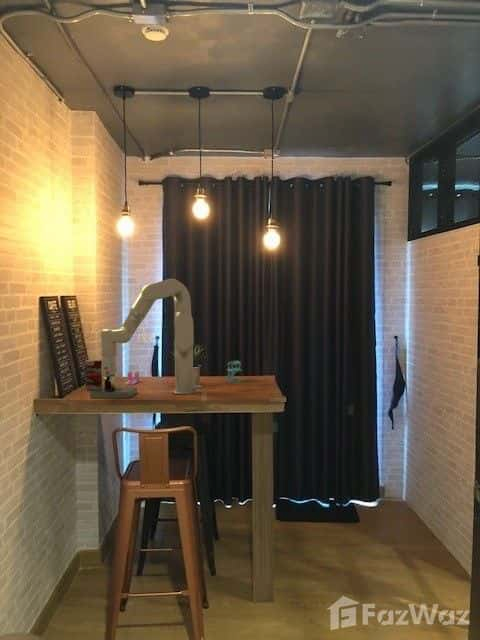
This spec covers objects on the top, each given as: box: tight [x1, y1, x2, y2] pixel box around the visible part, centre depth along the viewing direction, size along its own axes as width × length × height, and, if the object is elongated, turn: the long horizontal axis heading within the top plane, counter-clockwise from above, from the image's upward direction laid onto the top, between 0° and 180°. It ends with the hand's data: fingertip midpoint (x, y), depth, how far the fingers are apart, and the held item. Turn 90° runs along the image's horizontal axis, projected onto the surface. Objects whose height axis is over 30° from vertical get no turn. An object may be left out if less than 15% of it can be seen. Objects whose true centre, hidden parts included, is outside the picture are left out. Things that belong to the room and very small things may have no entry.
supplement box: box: [85, 359, 103, 391], centre depth 283 cm, size 9×5×16 cm, turn 105°
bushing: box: [105, 375, 116, 391], centre depth 264 cm, size 5×5×7 cm
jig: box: [89, 386, 138, 399], centre depth 265 cm, size 20×14×3 cm
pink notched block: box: [124, 370, 140, 387], centre depth 297 cm, size 13×6×7 cm, turn 178°
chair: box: [226, 360, 244, 383], centre depth 302 cm, size 8×8×12 cm
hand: (109, 387), depth 265 cm, fingers closed on bushing, 5 cm apart
